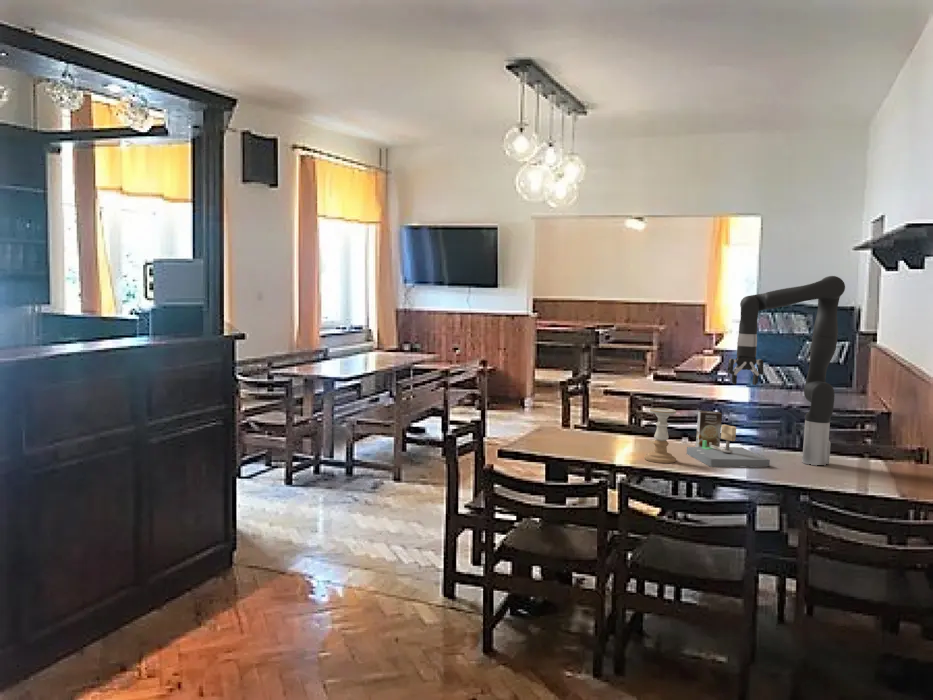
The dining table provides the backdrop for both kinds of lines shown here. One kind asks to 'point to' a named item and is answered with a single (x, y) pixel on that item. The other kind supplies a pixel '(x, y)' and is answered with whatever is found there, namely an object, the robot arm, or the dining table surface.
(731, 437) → the tuning key
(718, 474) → the dining table surface
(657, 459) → the candle holder
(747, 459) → the board
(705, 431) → the coffee box
